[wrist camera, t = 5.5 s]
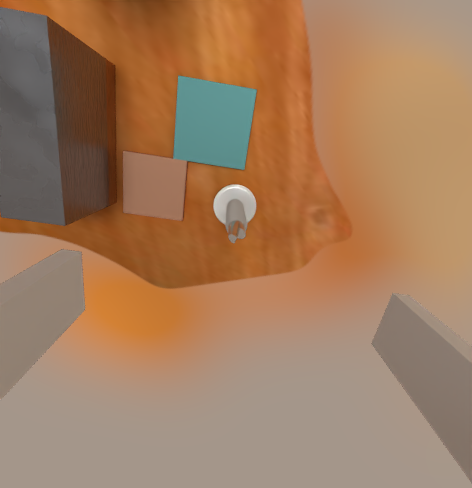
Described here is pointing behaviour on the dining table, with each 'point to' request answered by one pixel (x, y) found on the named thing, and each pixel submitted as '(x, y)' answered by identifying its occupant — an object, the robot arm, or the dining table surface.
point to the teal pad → (213, 122)
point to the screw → (235, 209)
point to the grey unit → (54, 123)
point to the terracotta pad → (154, 185)
